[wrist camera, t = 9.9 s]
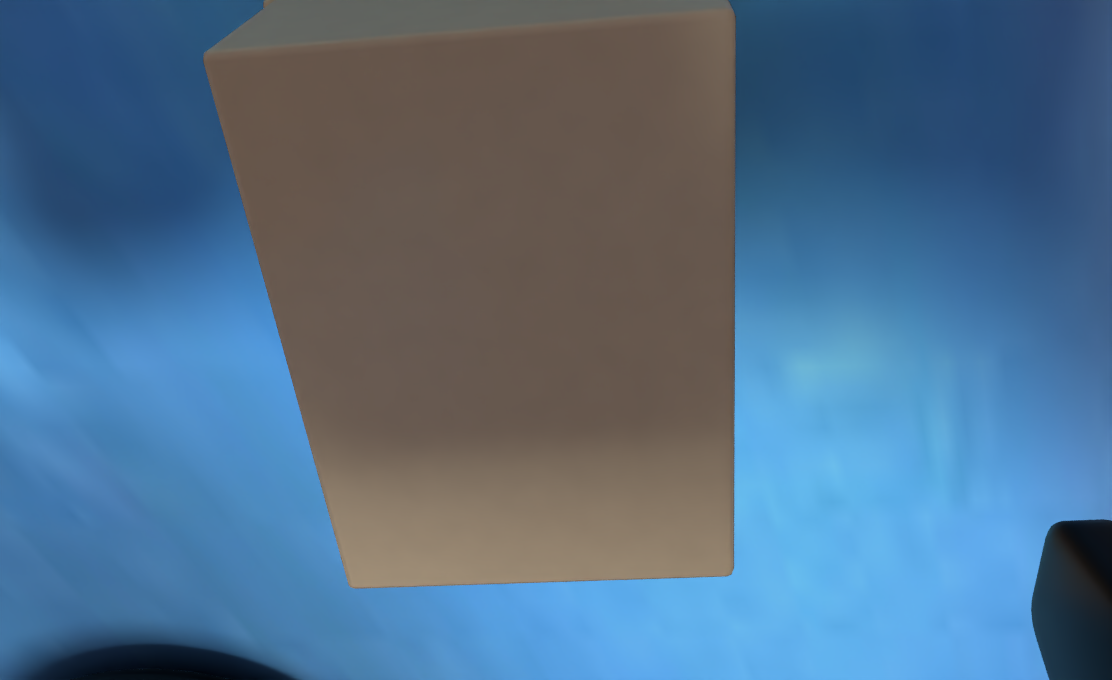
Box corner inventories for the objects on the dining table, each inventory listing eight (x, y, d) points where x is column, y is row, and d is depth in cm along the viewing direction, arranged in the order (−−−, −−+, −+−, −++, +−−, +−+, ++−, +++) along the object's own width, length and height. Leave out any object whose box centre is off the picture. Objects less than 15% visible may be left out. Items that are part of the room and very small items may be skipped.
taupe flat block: (274, -5, 11) (196, 53, 9) (711, -43, 11) (736, 7, 9) (385, 470, 15) (347, 592, 13) (716, 456, 14) (734, 579, 12)
